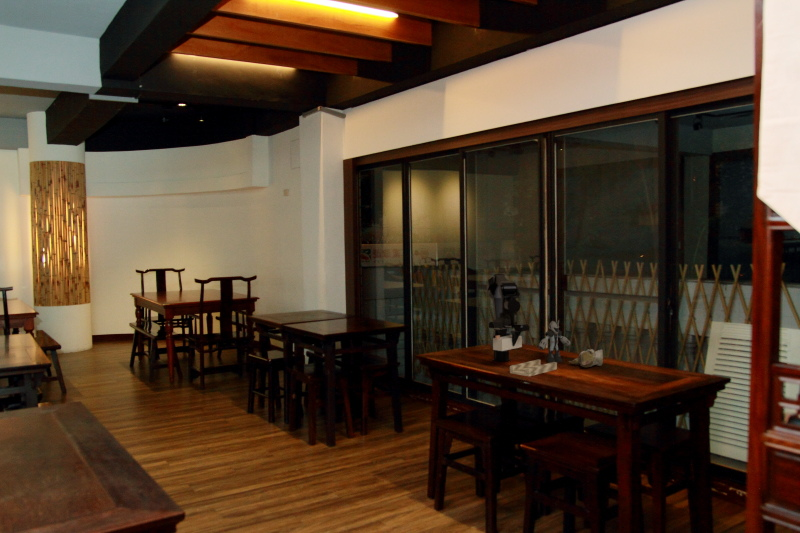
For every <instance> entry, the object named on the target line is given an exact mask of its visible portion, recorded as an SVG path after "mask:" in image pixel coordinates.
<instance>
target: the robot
mask: <svg viewBox="0 0 800 533" xmlns="http://www.w3.org/2000/svg"><path fill="white" fill-rule="evenodd" d="M559 324H560V318H558V320H557V321H556V320H554V319H552V320H551V321H550V323H549V324H548V329H549V330H546V332H545V333H544V335H545V338H542V339H541V340H540V342H539V344H538V346H537V348H538V350H541V351H543V350H544V349H545V348H546V347H547V345H548V343H549V345H550V346H549V347H548V353H547V358H546V364H548V363H552V362H557V363H563V358H562V357H561V353H560V346H559V345H558V344H559V340H560V342H561V344H563V345H564V346H566V347H570V346H571V344H572V343H571V341H570V340H569V339H568V338H567V337H566V336H563V335H562V334H563V332H562V330H560V329H559V328H560V326H559ZM558 339H559V340H558ZM548 340H549V342H548Z"/></svg>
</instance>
